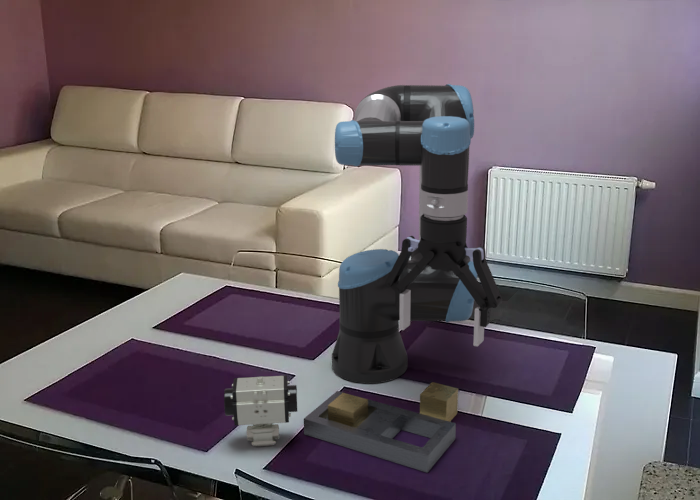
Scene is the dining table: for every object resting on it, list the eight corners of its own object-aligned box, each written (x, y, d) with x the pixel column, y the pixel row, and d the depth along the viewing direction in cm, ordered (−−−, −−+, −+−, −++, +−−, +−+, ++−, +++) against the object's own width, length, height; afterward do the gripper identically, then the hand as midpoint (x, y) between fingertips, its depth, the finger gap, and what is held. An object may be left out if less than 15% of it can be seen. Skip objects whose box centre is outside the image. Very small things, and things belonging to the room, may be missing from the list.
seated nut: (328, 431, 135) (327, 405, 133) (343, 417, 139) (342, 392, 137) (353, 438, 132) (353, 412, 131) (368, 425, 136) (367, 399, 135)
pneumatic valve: (229, 436, 134) (224, 372, 130) (298, 432, 134) (295, 368, 131) (227, 454, 128) (222, 388, 125) (298, 450, 129) (296, 384, 125)
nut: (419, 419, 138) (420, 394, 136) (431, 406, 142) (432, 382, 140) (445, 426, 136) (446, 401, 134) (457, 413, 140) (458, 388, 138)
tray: (304, 434, 134) (303, 418, 133) (337, 405, 143) (337, 390, 142) (427, 472, 123) (427, 456, 122) (455, 439, 132) (455, 423, 131)
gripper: (364, 210, 130) (365, 328, 137) (510, 230, 118) (503, 359, 125) (386, 200, 136) (385, 313, 143) (526, 218, 124) (519, 341, 131)
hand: (440, 335), depth 134 cm, fingers open, 13 cm apart
